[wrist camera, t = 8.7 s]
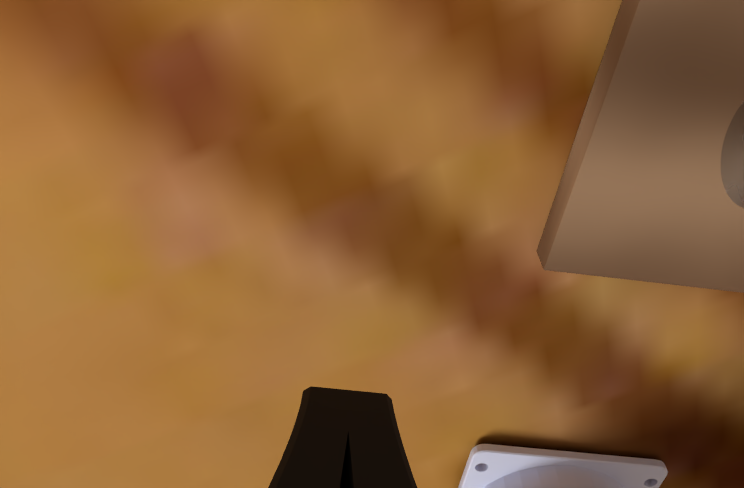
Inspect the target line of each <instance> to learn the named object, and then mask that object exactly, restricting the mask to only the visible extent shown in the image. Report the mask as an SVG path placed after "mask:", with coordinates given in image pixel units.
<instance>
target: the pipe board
mask: <svg viewBox="0 0 744 488" xmlns="http://www.w3.org/2000/svg"><path fill="white" fill-rule="evenodd" d="M743 102H744V0H622V3H621V6H620V9H619V12H618V15H617V18H616V21H615V23H614V26H613V29H612V32H611V35H610V38H609V41H608V44H607V47H606V50H605V53H604V56H603V59H602V61H601V64H600V67H599V70H598V73H597V76H596V79H595V82H594V85H593V88H592V91H591V94H590V97H589V99H588V102H587V105H586V108H585V111H584V114H583V117H582V120H581V123H580V126H579V129H578V132H577V135H576V138H575V140H574V143H573V146H572V149H571V152H570V155H569V158H568V161H567V164H566V167H565V170H564V173H563V176H562V178H561V181H560V184H559V187H558V190H557V193H556V196H555V199H554V202H553V205H552V208H551V211H550V214H549V216H548V219H547V222H546V225H545V228H544V231H543V234H542V237H541V240H540V243H539V246H538V249H537V253H538V256H539V259H540V261H541V264H542V266H543V269H544V270H550V271H558V272H567V273H576V274H585V275H594V276H602V277H611V278H620V279H629V280H637V281H646V282H655V283H664V284H673V285H681V286H690V287H699V288H708V289H716V290H725V291H734V292H743V293H744V208H742V207H740V206H738V205H737V204H735V203H734V202H733V201H732V200H731V199H730V197H729V196H728V194H727V193H726V190H725V188H724V185H723V182H722V177H721V152H722V146H723V142H724V138H725V135H726V132H727V129H728V127H729V125H730V122H731V120H732V118H733V117H734V115H735V113H736V112H737V110H738V108H739V107H740V106H741V104H742V103H743Z"/></svg>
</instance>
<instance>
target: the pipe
mask: <svg viewBox="0 0 744 488" xmlns="http://www.w3.org/2000/svg"><path fill="white" fill-rule="evenodd" d="M721 177H722V182H723V185H724V188H725V190H726V193H727V194H728V196H729V197H730V199H731V200H732V201H733V202H734V203H735V204H737V205H738V206H740V207H742V208H744V102H743V103H742V104H741V106H740V107H739V108H738V110H737V112H736V113H735V115H734V117H733V118H732V120H731V122H730V125H729V127H728V129H727V132H726V135H725V138H724V142H723V146H722V152H721Z"/></svg>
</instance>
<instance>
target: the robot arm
mask: <svg viewBox="0 0 744 488" xmlns="http://www.w3.org/2000/svg"><path fill="white" fill-rule="evenodd" d="M667 473H668V471H667V468H666V466H665V464H664V462H662V461H660V460H656V459H646V458H635V457H624V456H613V455H602V454H592V453H581V452H570V451H559V450H548V449H537V448H527V447H516V446H505V445H494V444H479V445H477V446H475V447H474V448H473V449H472V450H471V452H470V455H469V458H468V461H467V464H466V467H465V470H464V472H463V475H462V478H461V481H460V484H459V487H458V488H659V487H660V485H661V484H662V482H663V480H664V479H665V477H666V476H667ZM268 488H417V486H416V483H415V480H414V478H413V475H412V472H411V469H410V466H409V463H408V460H407V456H406V453H405V450H404V447H403V444H402V440H401V437H400V433H399V430H398V426H397V422H396V418H395V414H394V409H393V404H392V400H391V398H390V397H389V396H388V395H387V394H382V393H372V392H362V391H351V390H341V389H331V388H321V387H309V388H308V389H306V390H304V391H303V395H302V400H301V405H300V409H299V412H298V416H297V419H296V422H295V425H294V428H293V431H292V434H291V436H290V439H289V442H288V444H287V446H286V449H285V451H284V454H283V456H282V459H281V461H280V464H279V466H278V468H277V470H276V472H275V474H274V477H273V479H272V481H271V483H270V485H269V487H268Z"/></svg>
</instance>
